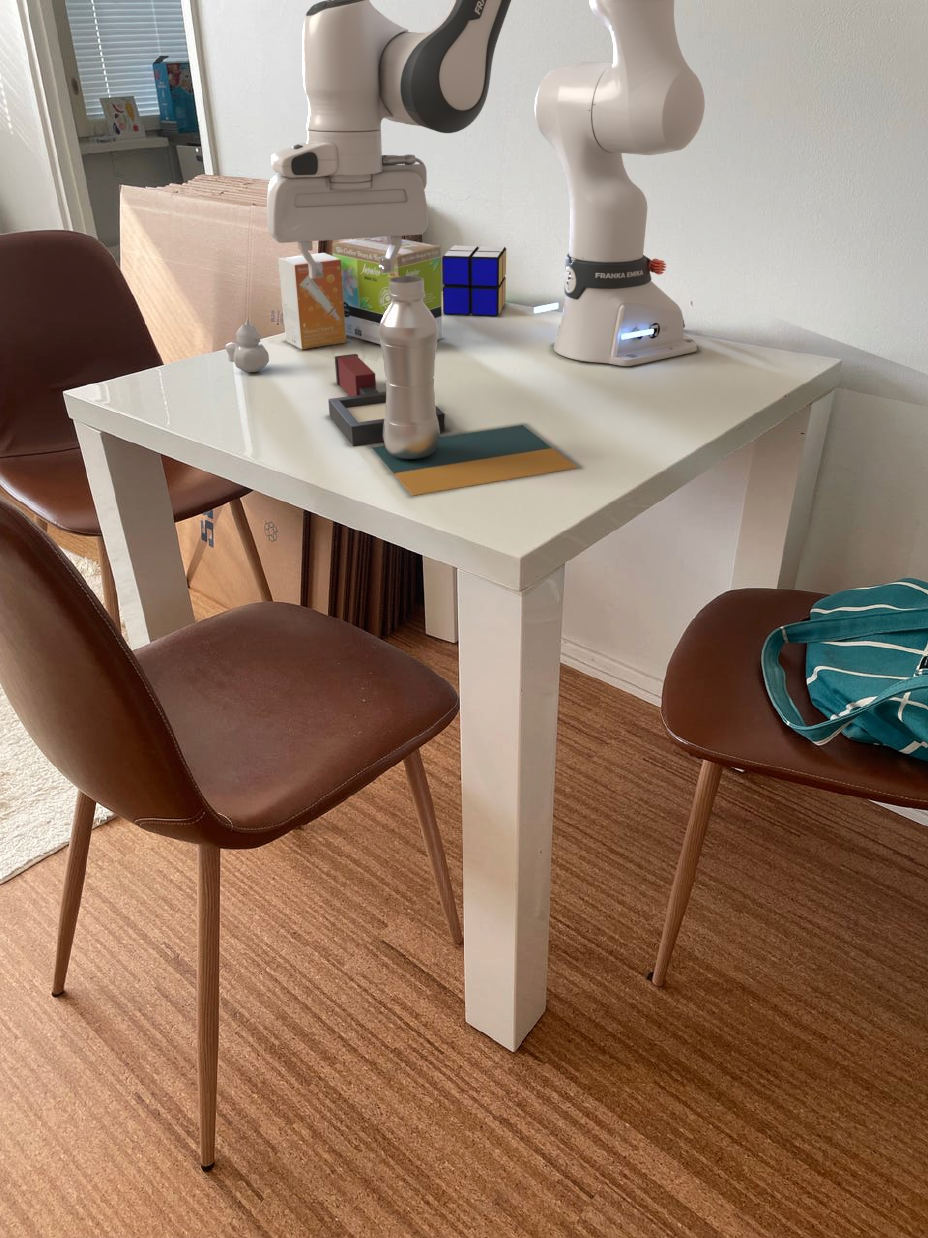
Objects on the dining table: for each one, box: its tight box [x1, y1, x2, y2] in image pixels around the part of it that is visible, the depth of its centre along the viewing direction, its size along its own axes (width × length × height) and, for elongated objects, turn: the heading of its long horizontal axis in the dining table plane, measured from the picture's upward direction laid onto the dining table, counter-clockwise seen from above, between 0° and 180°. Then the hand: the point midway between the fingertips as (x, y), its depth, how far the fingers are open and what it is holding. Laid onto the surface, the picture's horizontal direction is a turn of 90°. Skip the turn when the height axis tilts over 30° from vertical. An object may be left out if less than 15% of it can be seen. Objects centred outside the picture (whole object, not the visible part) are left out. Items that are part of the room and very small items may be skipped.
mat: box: [372, 424, 578, 497], centre depth 110 cm, size 20×15×1 cm
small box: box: [277, 252, 347, 350], centre depth 148 cm, size 8×6×13 cm
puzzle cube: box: [441, 244, 507, 317], centre depth 167 cm, size 10×10×10 cm
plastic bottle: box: [379, 276, 441, 459], centre depth 105 cm, size 6×7×20 cm
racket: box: [327, 353, 446, 446], centre depth 123 cm, size 24×12×4 cm, turn 22°
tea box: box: [332, 237, 443, 346], centre depth 150 cm, size 15×10×15 cm, turn 49°
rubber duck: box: [224, 316, 270, 373], centre depth 137 cm, size 5×7×8 cm
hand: (352, 275), depth 120 cm, fingers open, 8 cm apart
